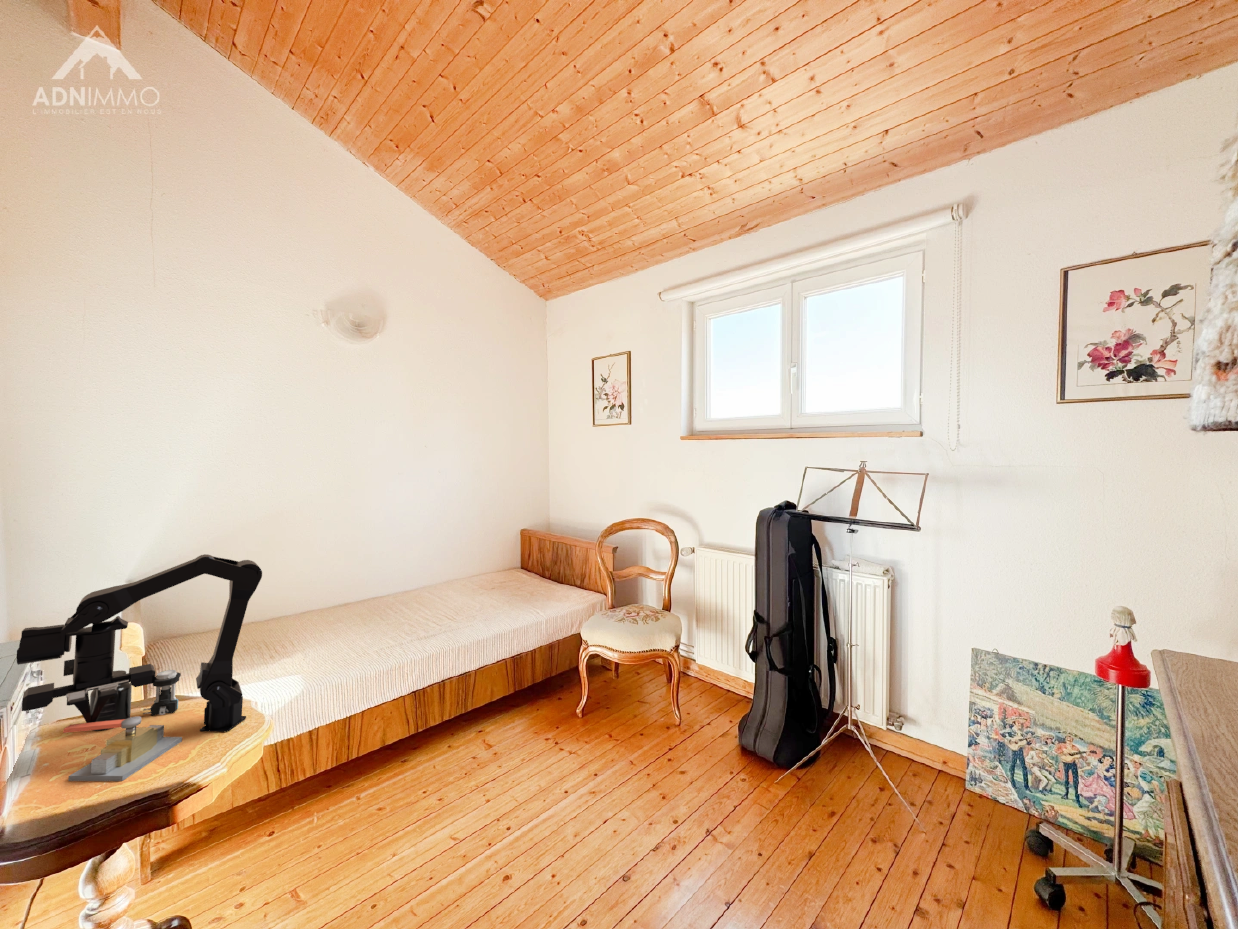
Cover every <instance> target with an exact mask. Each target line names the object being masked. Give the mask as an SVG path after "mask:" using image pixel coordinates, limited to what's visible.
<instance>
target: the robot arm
mask: <svg viewBox="0 0 1238 929" xmlns="http://www.w3.org/2000/svg"><path fill="white" fill-rule="evenodd" d="M202 575H209V576H213V577H216V578H220V579H222V580H226V581H229V582H228V584H229V592H228V593H229V594H228V601H227V604H226V608H225V612H224V616H223V617H222V618H223V619H222V622H221V625H220V630H219V632H218V636H217V640H216V644H215V646H214V650H213V654H212V656H211V657H210V659H209V661H208V662H200V668H199V674H198V675H197V677H196V678H195V680H196V681H195V683H196V688H197V689H198V690H199V695H200V697H202V699H203V700H206V701H207V702H206V706H205V707H204V712H203V713H204V714H203V725H204V726H202V727H201V728H199V732H208V733H209V732H211V733H212V732H219V733H220V732H221V733H222V732H225V733H226V732H230V730H232V729H234V728H235V727H236V726H238V725H239V724H240V723H242V722H243V721H245V720H246V719H247V716H246V715H243V704H244V702H243V700H244V699H243V697H244V696H243V693H242V689H241V685H240V683H239V681H237V680H236V679H235V678H233V673H234V672H233V669H234V668H233V666H234V665H233V664H234V663H233V662H234V661H233V659H234V655H235V651H236V648H237V644H238V641H239V636H240V634H241V633H240V632H241V631H242V630H241V629H242V626H243V623H244V620H245V619H244V618H245V614H246V611H247V607H248V605H249V601H250V600H251V597H252V596H253V594H254V593H255V591H256V590H257V588H258V587H259V584H260V582H261V580H262V577H263V570H262V568H261V567H260V566H259V564H257V563H256V562H255V561H253V560H249V559H243V560H240V561H237V560H233V559H231V558H229V559H228V558H223V557H222V558H221V557H219V556H218V557H217V556H213V555H211V554H200V555H198V556H197V557H195V558H194V559H193V558H192V559H191V560H187V561H185V562H183V563H180V564H177V565H175V566H172V567H170V568H167V569H165V570H162V571H160V572H157V573H155V574H153V575H150V576H149V575H148V576H147V577H144V578H142V579H139V580H137V581H133V582H130V583H126V584H120V585H115V586H114V585H113V586H111V587H106V588H103V589H99V590H95V591H92V592H90V593H88V594H86V595H84V596H83V597H82V599H81V601H79V603H78V605H77V607H76V609H75V610H76V611H75V612H74V613H73V614H72V615H71V616H70V617H67V619H66V621H65V623H64V624H57V625H47V626H41V627H40V626H32V627H31V626H30V627H25V628H23V629H22V631H21V637H20V640H19V645H18V648H17V650H16V664H17V665H18V666H19V665H24V664H25V665H27V664H30V663H32V664H33V663H37V662H38V663H39V662H45V661H51V660H56V659H62V657H63V656H65V653H70V652H71V648H72V642H73V640H72V639H73V636H74V637H75V644H74V658H73V659H72V658H71V659H67V660H64V661H63V677H67V676H72V684H68V685H63V686H59V687H55V682H50V683H45V684H42V685H41V684H40V685H35V686H29V687H28V688H27V689H26V690H24V692H23V695H22V701H21V712H27V711H33V710H37V709H38V710H39V709H41V708H46V707H48V706H49V705H50V704H51V703H53V701H54V699H56V698H60V697H65V698H66V706H74V707H75V708H76V709H77V711H79V713H81V715H82V717H83V719H84V722H85V723H91V722H96V720H97V718H98V716H99V714H100V712H101V710H102V708H103V707H104V705H105V704H106V703H107V701H108V700H109V698H110V697H111V696H114V695H117V694H118V691H117V687H118V684H123V683H128V682H129V683H130V684H131V686H132V687H134V688H138V687H142V686H147V685H153V683H154V682H155V677H156V670H155V666H154V665H153V664H151V663H148V664H142V665H138V666H132V667H129V668H128V673H127V672H126V674H122V675H117V676H113V671H114V664H115V662H114V661H115V646H116V631H119V630H126V629H127V628H128V626H129V621H127V620H125V619H122V617H121V616H119V614H120V613H121V612H124V611H125V610H127V609H128V608H130V607H131V606H132V605H134V604H136V603H137V602H140V601H141V600H143V599H146V598H147V597H151V596H152V595H155V594H158V593H161V592H163V591H166V590H169V588H173V587H175V586H177V585H180V584H182V583H185V582H188V581H190V580H193V579H195V578H197V577H199V576H202ZM112 617H115V618H114V619H111V618H112ZM109 619H111V620H109ZM107 620H108V621H107ZM91 624H92V626H90V625H91ZM95 689H97V691H96V697H95V702H94V706H93V710H92V715H91V710H90V696H89V692H90V691H93V690H95Z"/></svg>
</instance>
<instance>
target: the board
mask: <svg viewBox="0 0 1238 929" xmlns="http://www.w3.org/2000/svg"><path fill="white" fill-rule="evenodd" d="M182 742H183V737H182V736H164V738H162V739H160V740H159V741H157V744H156V745H155V746H153V748H152V749H151V750H149V751H148V752H146V753H144V754H143V755H141V756H140V757H138V758H137V759H135V760H133V761H132V762H128V763H126V764H125V765H123V766H121V767H116V768H114V769H113V770H111V771H110V772H108V773H106V774H91V763H92V762H90V763H89V764H87V765H84V766H83V767H82V768H79V769H78V770H76V771H75V772H73V773H71V774H69V775H68V782H122V781H125V780H126V779H127V778H129V777H131V776H132V775H134V774H135V773H136V772H138V771H140V770H141V769H143V768H144V767H146V766H147V765H149V764H150V763H151V762H154V761H155V760H156V759H158V758H159V757H160V756H162V755H163V754H165V753H167V752H168V751H170V750H171V749H173V748H174V747H175V746H177V745H179V744H181V743H182Z"/></svg>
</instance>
